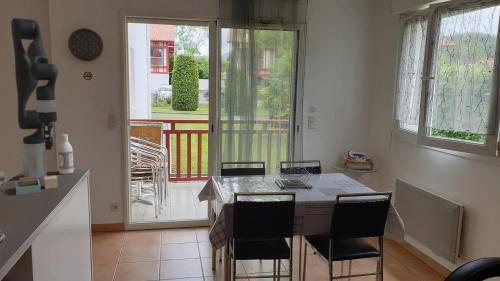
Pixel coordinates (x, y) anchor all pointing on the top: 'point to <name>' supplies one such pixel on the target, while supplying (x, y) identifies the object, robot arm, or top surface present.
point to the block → (27, 181)
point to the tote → (28, 188)
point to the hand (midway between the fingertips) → (49, 148)
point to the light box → (50, 182)
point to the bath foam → (65, 156)
